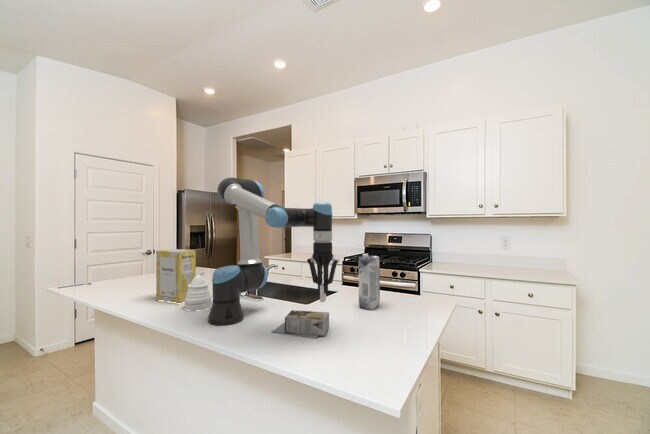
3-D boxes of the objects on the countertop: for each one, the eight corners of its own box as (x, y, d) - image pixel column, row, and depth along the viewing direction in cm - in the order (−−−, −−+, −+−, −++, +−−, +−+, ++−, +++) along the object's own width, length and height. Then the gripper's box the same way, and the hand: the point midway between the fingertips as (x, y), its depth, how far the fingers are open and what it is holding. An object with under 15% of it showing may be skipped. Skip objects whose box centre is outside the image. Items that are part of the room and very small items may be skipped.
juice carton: (381, 305, 153) (381, 253, 153) (373, 311, 144) (372, 255, 144) (365, 303, 158) (365, 252, 158) (356, 308, 149) (356, 254, 149)
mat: (271, 332, 118) (271, 331, 118) (287, 321, 131) (287, 320, 131) (316, 338, 111) (316, 337, 111) (328, 325, 124) (328, 325, 124)
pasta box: (156, 301, 165) (156, 250, 165) (172, 296, 175) (172, 249, 175) (179, 304, 158) (179, 252, 158) (195, 299, 168) (195, 250, 168)
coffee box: (329, 327, 121) (292, 324, 125) (329, 312, 121) (292, 309, 125) (324, 336, 112) (284, 333, 116) (324, 319, 112) (284, 316, 116)
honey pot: (202, 302, 161) (202, 269, 162) (216, 306, 154) (216, 271, 154) (179, 308, 151) (179, 273, 151) (193, 313, 143) (193, 275, 144)
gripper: (303, 242, 117) (304, 302, 117) (335, 242, 112) (335, 305, 112) (311, 240, 124) (311, 297, 124) (341, 241, 119) (341, 300, 119)
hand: (323, 301), depth 118 cm, fingers closed
